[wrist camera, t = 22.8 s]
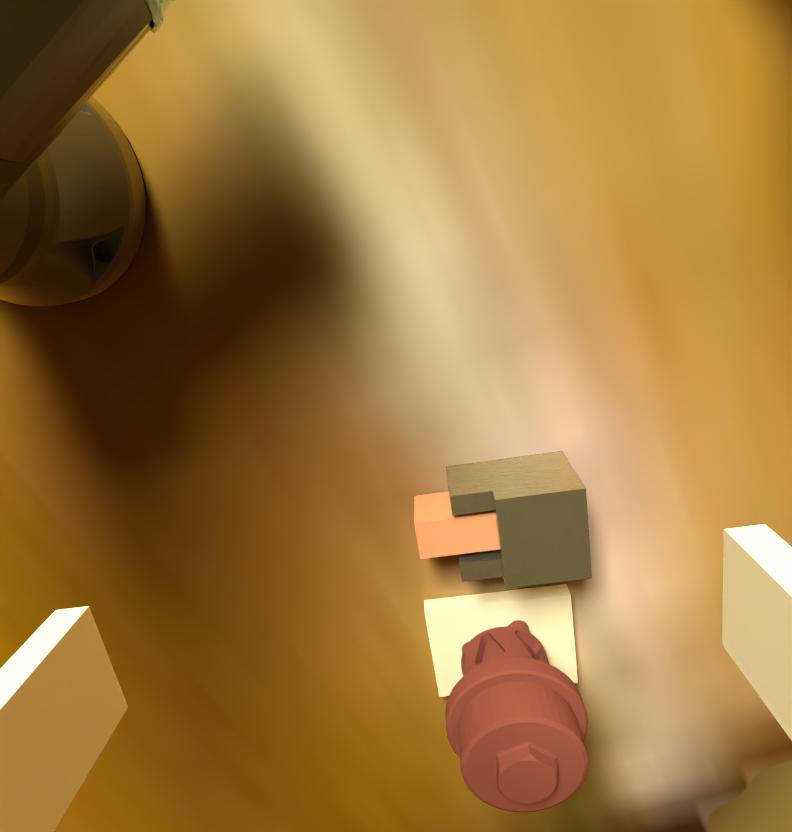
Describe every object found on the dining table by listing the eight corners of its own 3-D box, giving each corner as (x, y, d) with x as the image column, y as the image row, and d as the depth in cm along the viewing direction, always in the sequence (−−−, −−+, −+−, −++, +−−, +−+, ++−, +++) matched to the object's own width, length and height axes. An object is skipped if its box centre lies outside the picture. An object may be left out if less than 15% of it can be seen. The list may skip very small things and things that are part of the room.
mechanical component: (419, 662, 49) (484, 577, 46) (516, 712, 51) (585, 632, 48) (420, 798, 38) (506, 696, 35) (546, 858, 39) (639, 765, 36)
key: (420, 529, 47) (420, 559, 42) (414, 495, 46) (414, 523, 42) (519, 516, 46) (529, 545, 42) (515, 482, 45) (525, 509, 41)
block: (438, 683, 52) (439, 696, 50) (424, 600, 49) (424, 611, 48) (573, 670, 51) (577, 682, 49) (566, 583, 48) (570, 594, 47)
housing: (457, 544, 47) (463, 593, 41) (445, 466, 45) (450, 505, 39) (568, 530, 47) (591, 578, 40) (561, 451, 44) (585, 488, 38)
